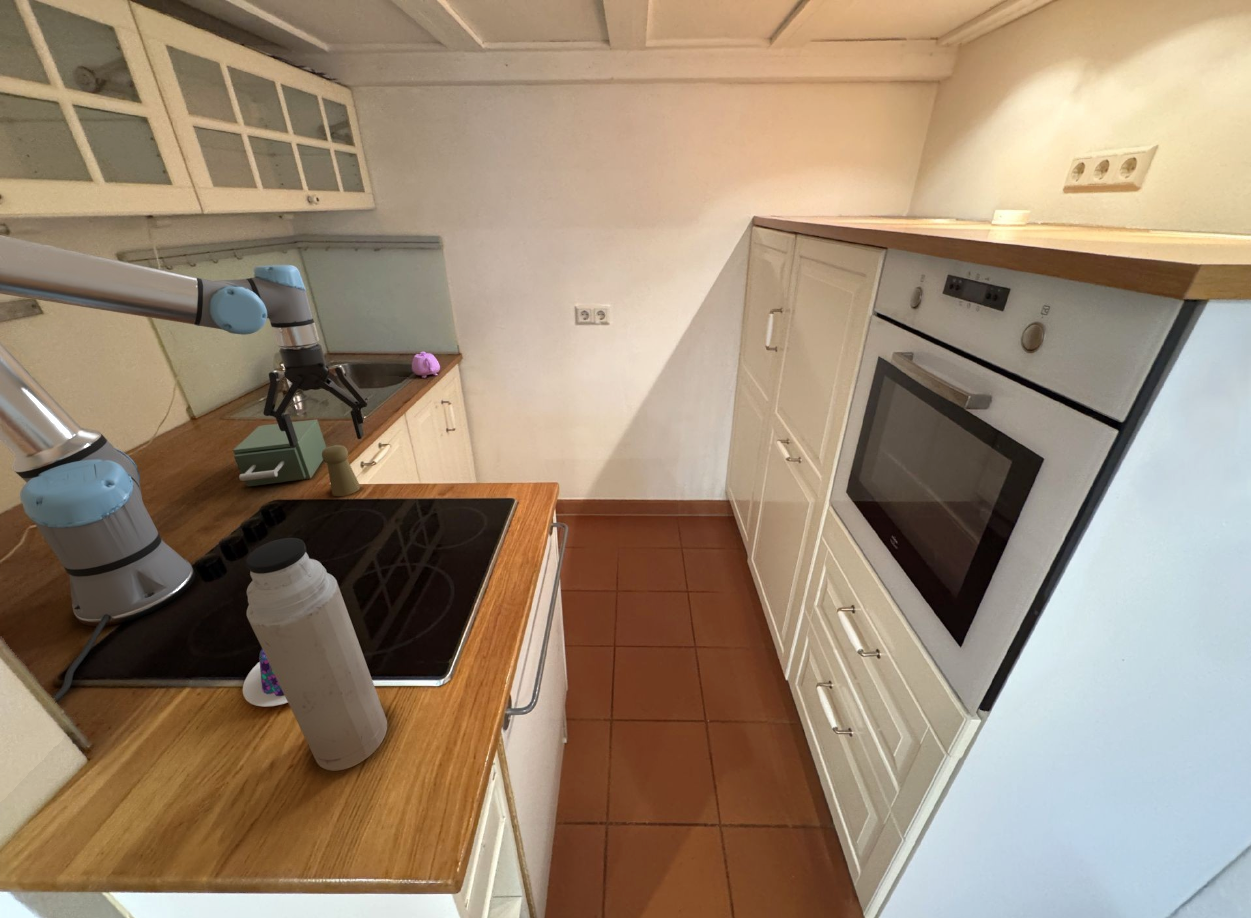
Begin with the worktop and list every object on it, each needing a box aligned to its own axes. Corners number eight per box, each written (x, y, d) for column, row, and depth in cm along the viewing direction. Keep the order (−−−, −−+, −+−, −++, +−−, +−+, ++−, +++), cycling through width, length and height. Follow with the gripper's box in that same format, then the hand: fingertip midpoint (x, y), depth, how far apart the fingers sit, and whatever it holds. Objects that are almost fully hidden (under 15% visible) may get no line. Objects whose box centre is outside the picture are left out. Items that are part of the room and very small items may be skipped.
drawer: (295, 491, 115) (284, 461, 112) (233, 500, 113) (220, 469, 109) (321, 454, 134) (312, 426, 131) (269, 460, 131) (258, 432, 128)
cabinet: (310, 478, 123) (298, 442, 119) (247, 486, 120) (232, 450, 116) (328, 452, 137) (317, 419, 133) (272, 459, 134) (259, 425, 130)
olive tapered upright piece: (326, 492, 116) (311, 450, 112) (349, 481, 121) (336, 440, 116) (342, 498, 114) (328, 455, 109) (366, 486, 119) (353, 444, 114)
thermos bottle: (298, 760, 58) (202, 569, 46) (350, 702, 65) (278, 522, 53) (353, 779, 56) (268, 583, 44) (401, 717, 63) (339, 533, 51)
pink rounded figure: (420, 380, 196) (415, 357, 192) (407, 373, 207) (402, 350, 203) (446, 375, 202) (441, 352, 198) (432, 368, 213) (427, 346, 209)
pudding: (305, 630, 77) (294, 604, 75) (362, 652, 73) (352, 625, 70) (224, 693, 67) (208, 665, 65) (284, 723, 63) (270, 694, 60)
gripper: (368, 337, 108) (390, 428, 118) (238, 345, 103) (271, 440, 112) (361, 344, 102) (384, 440, 111) (221, 354, 97) (258, 453, 106)
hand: (328, 440), depth 112 cm, fingers open, 13 cm apart
